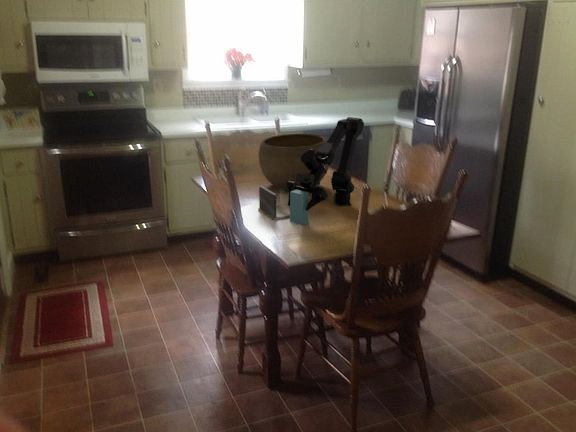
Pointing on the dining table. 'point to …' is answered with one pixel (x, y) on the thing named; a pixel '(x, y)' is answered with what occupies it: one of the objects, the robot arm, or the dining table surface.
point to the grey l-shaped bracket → (271, 205)
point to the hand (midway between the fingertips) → (297, 207)
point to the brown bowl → (287, 157)
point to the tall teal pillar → (299, 207)
